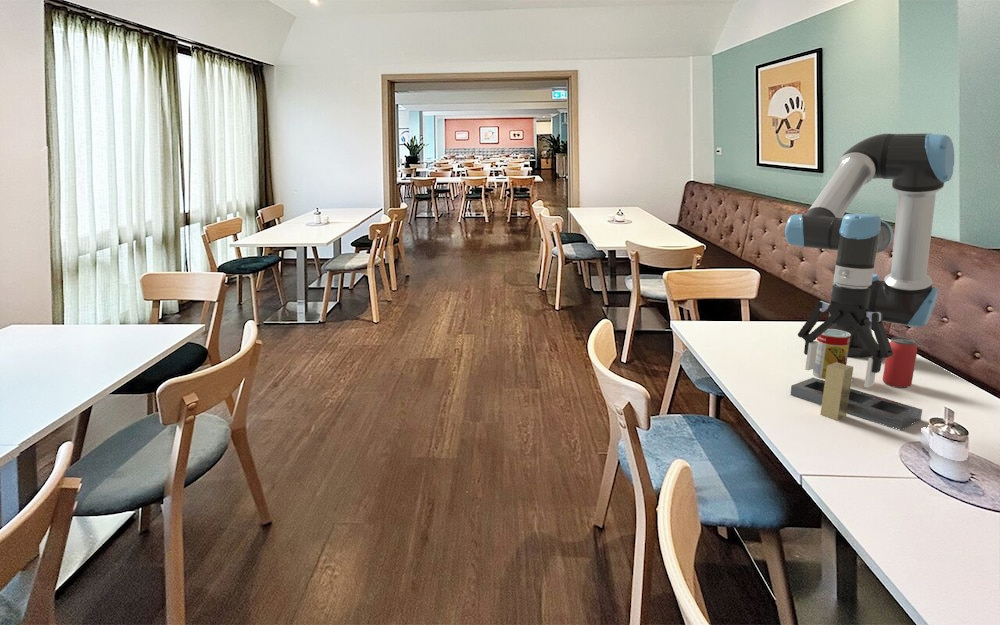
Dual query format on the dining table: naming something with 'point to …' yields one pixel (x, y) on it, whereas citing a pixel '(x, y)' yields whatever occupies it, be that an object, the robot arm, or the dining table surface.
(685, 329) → the dining table surface
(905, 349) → the beer can
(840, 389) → the wooden block
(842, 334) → the canned food
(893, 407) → the grey slotted tray
